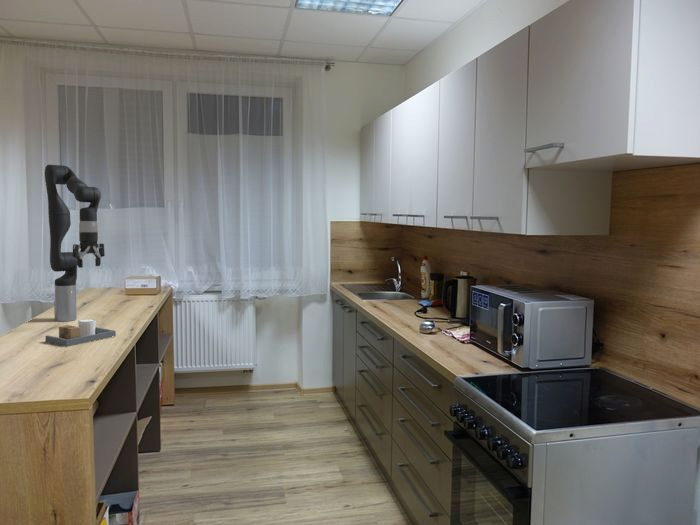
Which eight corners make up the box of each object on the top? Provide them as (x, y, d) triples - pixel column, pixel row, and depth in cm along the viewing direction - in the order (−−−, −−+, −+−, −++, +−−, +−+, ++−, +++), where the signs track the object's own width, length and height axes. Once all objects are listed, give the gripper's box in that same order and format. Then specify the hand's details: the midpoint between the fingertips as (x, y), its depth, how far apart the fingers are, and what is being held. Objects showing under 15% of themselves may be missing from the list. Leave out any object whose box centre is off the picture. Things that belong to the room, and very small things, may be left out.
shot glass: (99, 335, 229) (99, 319, 229) (87, 338, 223) (86, 322, 222) (87, 334, 231) (87, 318, 231) (74, 337, 225) (74, 321, 224)
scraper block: (59, 341, 218) (58, 326, 218) (68, 339, 222) (68, 325, 221) (71, 343, 214) (70, 329, 214) (80, 341, 218) (80, 327, 217)
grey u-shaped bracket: (45, 341, 216) (45, 335, 216) (94, 332, 235) (94, 326, 235) (66, 346, 209) (66, 340, 209) (115, 336, 228) (115, 330, 228)
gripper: (97, 230, 249) (98, 265, 250) (68, 231, 237) (69, 267, 238) (107, 231, 245) (108, 266, 247) (78, 231, 233) (79, 268, 234)
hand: (89, 266), depth 242 cm, fingers open, 8 cm apart
